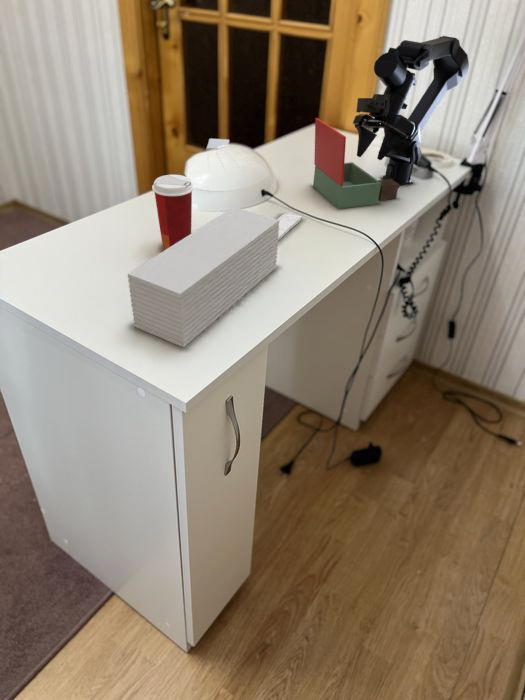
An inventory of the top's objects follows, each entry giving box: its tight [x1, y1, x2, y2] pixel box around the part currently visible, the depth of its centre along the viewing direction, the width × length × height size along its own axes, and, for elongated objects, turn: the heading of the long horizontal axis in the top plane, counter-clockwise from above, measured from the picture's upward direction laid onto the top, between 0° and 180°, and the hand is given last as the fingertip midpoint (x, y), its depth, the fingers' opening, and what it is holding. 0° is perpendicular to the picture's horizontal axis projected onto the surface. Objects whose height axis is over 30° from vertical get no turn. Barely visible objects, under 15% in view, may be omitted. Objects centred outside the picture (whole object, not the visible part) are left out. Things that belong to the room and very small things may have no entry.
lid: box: [313, 117, 347, 186], centre depth 133 cm, size 12×15×1 cm
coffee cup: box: [151, 174, 194, 251], centre depth 111 cm, size 8×8×15 cm
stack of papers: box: [127, 206, 279, 348], centre depth 99 cm, size 32×11×11 cm, turn 150°
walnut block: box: [377, 179, 400, 202], centre depth 141 cm, size 5×4×4 cm
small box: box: [205, 138, 231, 151], centre depth 142 cm, size 8×6×10 cm
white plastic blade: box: [277, 212, 302, 241], centre depth 124 cm, size 5×15×1 cm, turn 152°
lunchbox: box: [312, 161, 381, 210], centre depth 141 cm, size 11×15×6 cm
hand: (368, 158), depth 134 cm, fingers open, 9 cm apart
